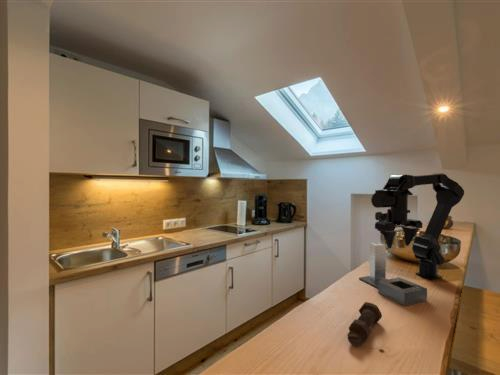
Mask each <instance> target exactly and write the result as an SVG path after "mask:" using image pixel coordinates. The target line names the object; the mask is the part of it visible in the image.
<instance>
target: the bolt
mask: <svg viewBox="0 0 500 375" xmlns="http://www.w3.org/2000/svg"><path fill="white" fill-rule="evenodd" d="M358 312H359V314H360V316H359V317H358V318H356V319H353V321H352V323H350V325H349V326H348V330H349V332H348V333H347V335H346V336H347V340H348V342H349V343H350V344H352V345H353V346H354V347H359V346H360V345H361V344H362V343H363V342H364V343H365V342H366V341H367V339H368V338H369V337H370V335H371V334H372V333H371V329H370V328H371V327H372V325H373V324H374V325H376V324H377V323H378V322H379V321H380V320H381V319H382V317H383V315H382V312H381V310H380V308H379V307H378V306H377V304H375V303H373V302H369V301H365V302H364V303H363V304H362V305H361V307H359V309H358Z"/></svg>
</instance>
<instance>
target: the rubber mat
mask: <svg viewBox="0 0 500 375" xmlns="http://www.w3.org/2000/svg"><path fill="white" fill-rule="evenodd" d="M387 279H388V278H386V280H387ZM358 280H359V281H362V282H364V283H365V284H367V285H370V286H371V287H374V288H376V289H378V283H375V282H373V281H372V280H371V279H370V275H367V276H360V277H359V278H358Z"/></svg>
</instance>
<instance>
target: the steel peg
mask: <svg viewBox="0 0 500 375" xmlns="http://www.w3.org/2000/svg"><path fill="white" fill-rule="evenodd" d="M369 244H370V245H369V251H370V252H369V276H370V279H371V280H372V281H373V282H375V283H378V281H382V280H386V279H387V278H386V276H387V275H386V274H387V273H386V271H387V270H386V264H387V262H386V261H387V257H386V256H387V244H386V245H385V244H383V243H382V242H370V243H369Z"/></svg>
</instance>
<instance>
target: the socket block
mask: <svg viewBox="0 0 500 375" xmlns="http://www.w3.org/2000/svg"><path fill="white" fill-rule="evenodd" d="M386 279H387V280H382V281H378V288H377V293H378V294H380V295H382V296H384V297H385V298H388V299H390V300H392V301H393V302H396V303H397V304H399V305H401V306H403V307H406V306H411V305H415V304H420V303H422V302H423V303H424V302H427V301H428V288H427V287H425V286H422V285H420V284H417V283H414V282H412V281H409V280H408V279H405V278H403V277H400V276H399V277H395V278H386Z"/></svg>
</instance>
